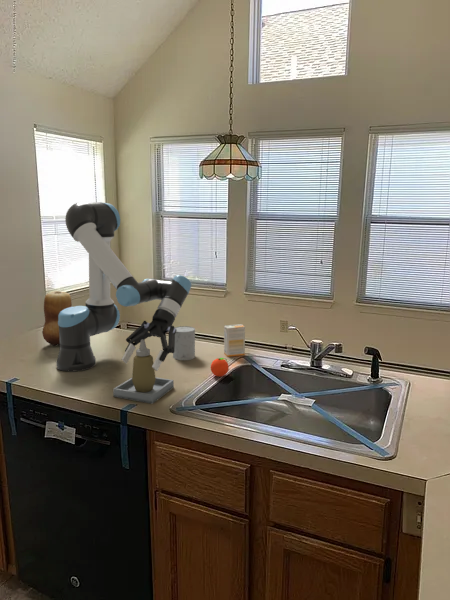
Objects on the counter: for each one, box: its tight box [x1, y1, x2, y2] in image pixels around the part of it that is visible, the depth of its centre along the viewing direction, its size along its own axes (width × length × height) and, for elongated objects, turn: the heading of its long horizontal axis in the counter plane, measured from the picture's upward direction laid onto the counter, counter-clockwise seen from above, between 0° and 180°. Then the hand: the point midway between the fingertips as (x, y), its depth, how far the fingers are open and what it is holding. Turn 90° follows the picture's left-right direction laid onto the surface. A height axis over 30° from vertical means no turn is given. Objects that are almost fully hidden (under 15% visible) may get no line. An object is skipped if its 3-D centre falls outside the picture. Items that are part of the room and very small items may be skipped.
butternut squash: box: [41, 290, 73, 347], centre depth 211 cm, size 14×13×25 cm
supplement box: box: [223, 323, 246, 358], centre depth 200 cm, size 8×5×13 cm, turn 108°
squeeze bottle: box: [131, 339, 156, 392], centre depth 158 cm, size 8×8×18 cm
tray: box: [112, 376, 175, 405], centre depth 160 cm, size 15×15×3 cm
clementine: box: [210, 357, 230, 377], centre depth 176 cm, size 8×7×7 cm
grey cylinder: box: [172, 325, 196, 361], centre depth 197 cm, size 10×10×12 cm
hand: (139, 365), depth 156 cm, fingers open, 13 cm apart
